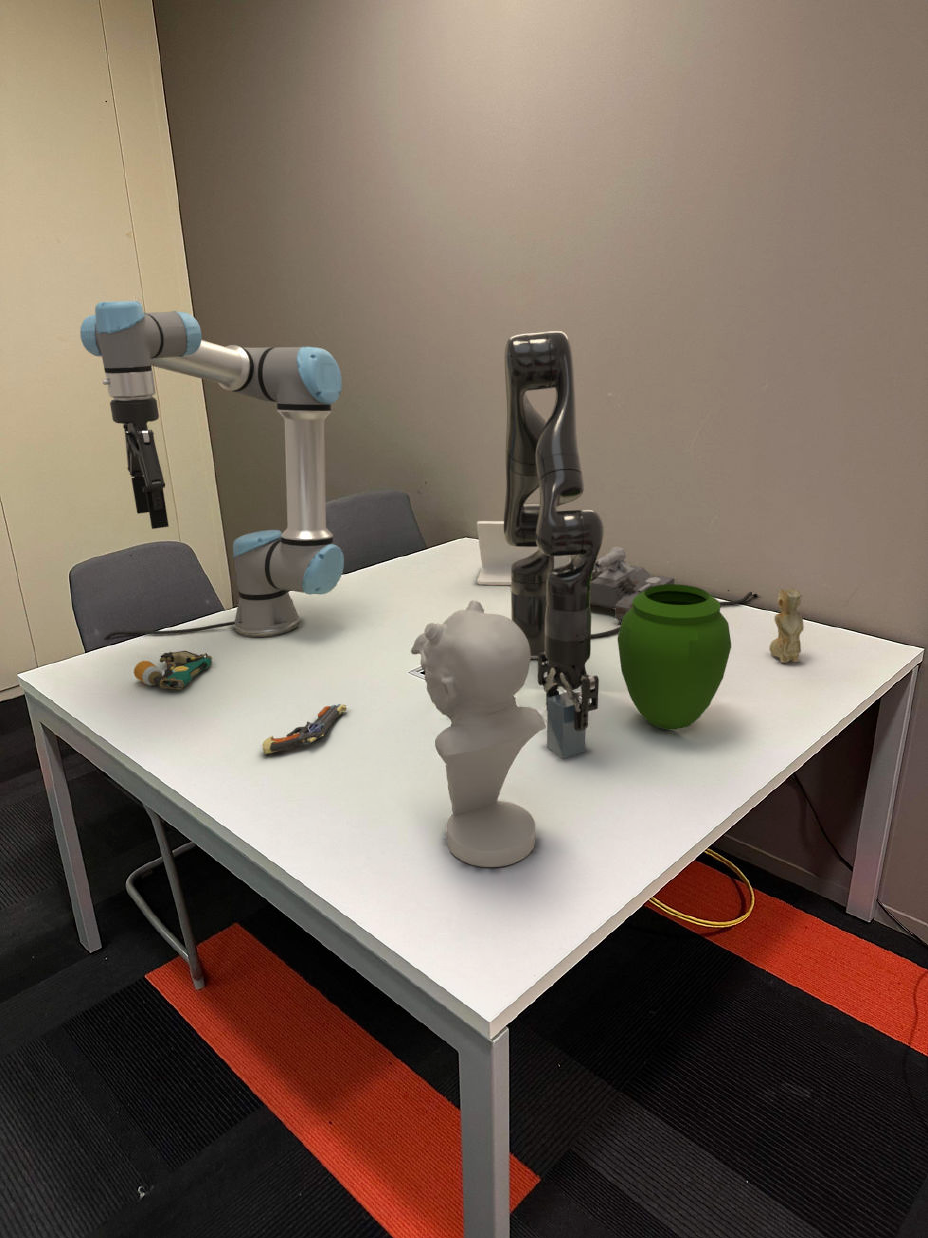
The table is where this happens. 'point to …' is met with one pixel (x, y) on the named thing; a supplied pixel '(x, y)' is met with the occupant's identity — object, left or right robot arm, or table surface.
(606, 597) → the toy
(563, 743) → the block
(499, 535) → the tablet stand
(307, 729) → the toy gun
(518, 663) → the bust sculpture
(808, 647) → the table surface
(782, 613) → the sculpture
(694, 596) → the vase
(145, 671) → the spray gun
